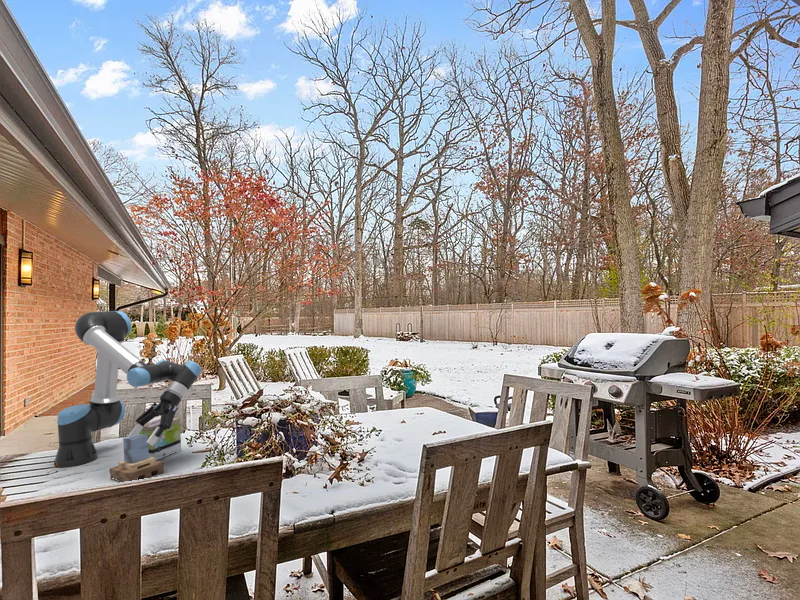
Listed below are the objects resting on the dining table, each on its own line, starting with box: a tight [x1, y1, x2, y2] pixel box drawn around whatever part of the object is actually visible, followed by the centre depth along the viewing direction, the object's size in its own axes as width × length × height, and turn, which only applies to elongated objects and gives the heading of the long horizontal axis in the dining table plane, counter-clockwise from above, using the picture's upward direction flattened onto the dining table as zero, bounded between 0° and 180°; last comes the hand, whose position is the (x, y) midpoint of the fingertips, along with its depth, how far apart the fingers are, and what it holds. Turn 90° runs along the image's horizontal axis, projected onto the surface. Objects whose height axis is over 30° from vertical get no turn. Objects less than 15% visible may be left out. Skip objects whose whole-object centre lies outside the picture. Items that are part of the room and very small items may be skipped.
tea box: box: [139, 417, 182, 461], centre depth 202 cm, size 15×10×15 cm
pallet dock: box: [109, 460, 165, 483], centre depth 178 cm, size 14×13×4 cm
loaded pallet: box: [117, 434, 155, 471], centre depth 178 cm, size 9×9×11 cm
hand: (139, 442), depth 179 cm, fingers open, 13 cm apart
